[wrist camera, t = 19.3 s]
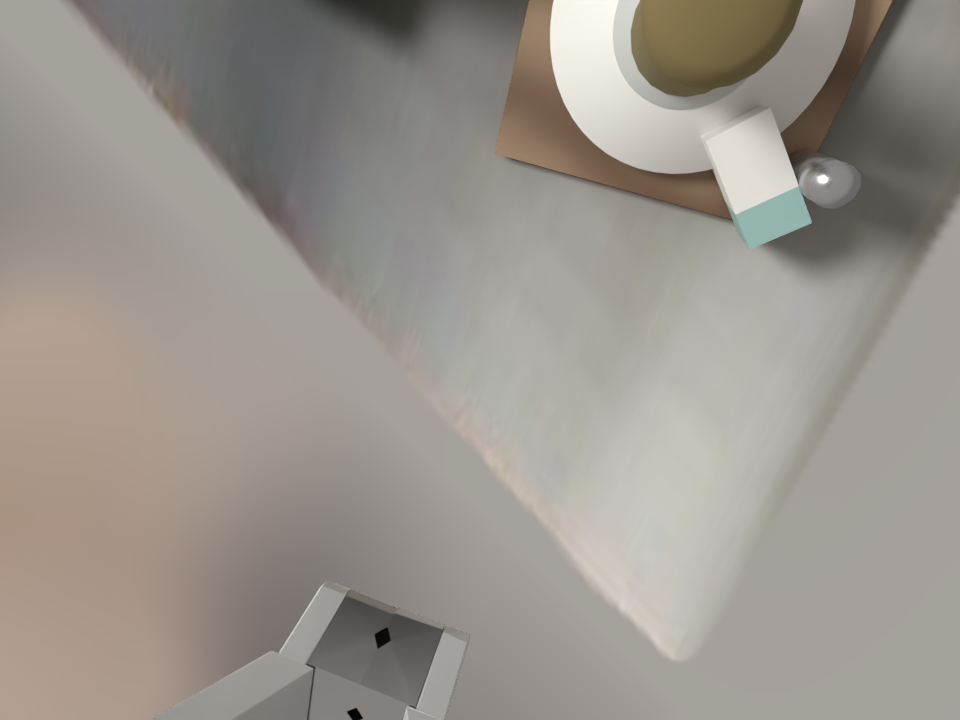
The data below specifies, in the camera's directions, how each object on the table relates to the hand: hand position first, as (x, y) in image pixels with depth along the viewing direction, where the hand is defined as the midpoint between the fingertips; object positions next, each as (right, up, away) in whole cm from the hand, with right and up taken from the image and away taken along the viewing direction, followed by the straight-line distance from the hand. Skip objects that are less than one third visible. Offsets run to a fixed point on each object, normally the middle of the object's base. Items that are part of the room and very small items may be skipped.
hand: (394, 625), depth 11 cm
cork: (+12, +22, +17) cm, 30 cm away
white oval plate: (+13, +20, +18) cm, 30 cm away
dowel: (+19, +16, +20) cm, 32 cm away
